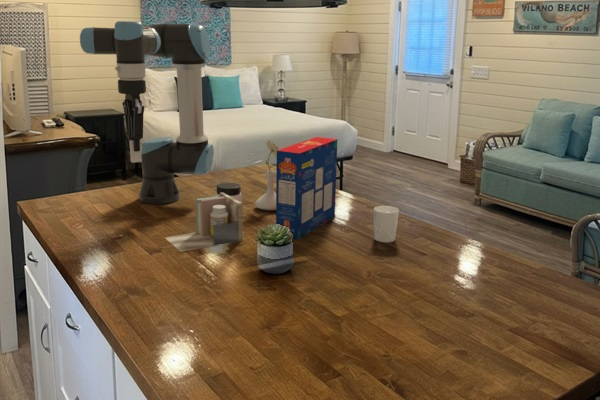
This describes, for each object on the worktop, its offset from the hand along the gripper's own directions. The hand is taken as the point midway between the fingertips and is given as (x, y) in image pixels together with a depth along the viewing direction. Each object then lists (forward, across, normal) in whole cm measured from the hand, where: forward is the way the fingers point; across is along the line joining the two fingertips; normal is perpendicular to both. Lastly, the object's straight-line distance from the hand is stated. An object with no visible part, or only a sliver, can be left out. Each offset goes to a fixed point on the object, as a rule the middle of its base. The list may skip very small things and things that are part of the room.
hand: (136, 161), depth 177 cm
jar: (+27, -13, +35) cm, 46 cm away
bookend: (+25, +11, +23) cm, 36 cm away
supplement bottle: (+25, +7, +23) cm, 35 cm away
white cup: (+27, +29, +70) cm, 80 cm away
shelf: (+26, +5, +18) cm, 32 cm away
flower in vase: (+27, -18, +54) cm, 63 cm away
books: (+25, 0, +23) cm, 34 cm away
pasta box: (+27, +6, +55) cm, 61 cm away
